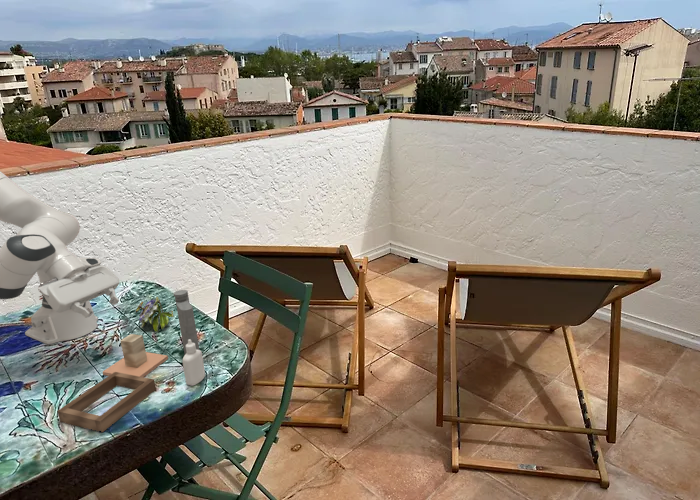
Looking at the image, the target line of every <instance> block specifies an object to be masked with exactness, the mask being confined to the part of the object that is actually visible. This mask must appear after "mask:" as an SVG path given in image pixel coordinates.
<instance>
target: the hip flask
mask: <svg viewBox="0 0 700 500" xmlns="http://www.w3.org/2000/svg"><path fill="white" fill-rule="evenodd" d="M173 296H174V298H175V299H174V300H175V305H176V310H177V311H176V312H177V317H178V323H179V329H180V336H181V341H182V346H183V351H184V352H183V353H184V355H185V354H186V353H187V352H186V344H188V340H189V339H191V341H192V343H195V346H196V350H200V347H199V340H198V333H197V332H198V331H197V327H196V326H197V325H196V321H195V314H194V308H193V305H191V303H190V299H189V292H188V290H187V289H180V290H176V291H175V292H173Z"/></svg>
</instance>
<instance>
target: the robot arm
mask: <svg viewBox="0 0 700 500" xmlns="http://www.w3.org/2000/svg"><path fill="white" fill-rule="evenodd" d="M0 222H3V223H7V224H11V225H14V226H16V227H18V228H20V230H19V231H18V232H17V233H16V235H13V236H11V237H9V238H8V239H7V240H6V241H5V242H4V243H3V244H2V245H1V247H0V300H10V299H15V298H17V297H20V296H21V295H22V294H23V292H24V290H25V289H26V287H27V285H28V283H29V282H30V281H31V280H32V278H33V277H34V276H35V274H37V276H38V280H39V285H38V288H37V289H38V292H39V293H40V294H41V295H40V296H38V298H39V301H40V300H41V301H42V302H41V306H40V307H39V308H38V309H37V311H35V313H33V314H32V315H31V318H30V319H31V322H30V323H31V327H29V328H28V329H27V330H26V331H25V332H24V334H25V335H24V336H27V337H30V338H32V339H34V340H36V341H38V342H41V343H42V344H45V345H51V344H56V343H59V342H64V341H70V340H73V339H74V340H75V339H77V338H81V337H83V336H86V335H88V334H90V333H92V332H94V330H96V329H97V328H98V320H99V318H98V316H97V315H95V313H94V310H93V307H92V304H91V300H93V299H96V298H98V297H101V296H103V295H106V296H107V297H109V299H110V300H109V301H108V302H109V303H110V304H111V305H112V306H115V305H117V304H119V302H120V299H119V298H118V297H117V295H116V291H115V290H116V289H117V288H118V286H119V285H120V279H119V278H118V276H117V275H116V274H115V273H114V272H113V271H112V270H111V269H110V268H108V267H107V266H105V265H103V264H102V261H101V259H99V258H97V257H78V256H77V255H76V254H74V253H73V252H71V251H70V250H69V249H68V247H67V246H68V245H69V244H71V243H73V242H74V241H75V240H76V238H77V237H78V235H79V233H80V230H81V226H80V222H79V220H78V219H77V218H76V217H75V215H72V214H70V213H68V212H65V211H62V210H59V209H57V208H55V207H53V206H51V205H48V204H47V203H46V202H43V201H41V200H40V199H38V198H37V197H34V196H33V195H32V194H30V193H29V192H28V191H26V190H25V189H24V188H22V187H20V185H19V184H17V183H16V182H15V181H14V180H12V179H11V178H9V177H8V176H7V175H6V174H4V173H3V172H2V171H0Z"/></svg>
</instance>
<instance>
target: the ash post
mask: <svg viewBox="0 0 700 500" xmlns="http://www.w3.org/2000/svg"><path fill="white" fill-rule="evenodd" d="M119 342H120V346H121V351H122V354H123V358H124V360H125V365H126V366H128V367H134V368H138V367H139V366H141V365H142V364H144V363H145V362H146V361H147V356H146V352H147V351H146V346H145V341H144V336H143V335H141V334H135V333H130V334H129V335H127V336H125V337H124V338H122V339H121V340H119Z"/></svg>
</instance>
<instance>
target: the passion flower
mask: <svg viewBox="0 0 700 500" xmlns="http://www.w3.org/2000/svg"><path fill="white" fill-rule="evenodd" d="M143 303H144V301H142V302H140V303H139V305H137V308H136V309H135V313H138V312H139V311H140V310H141V312H140V314H138V316H139V317H138V318H139V319H138V322H139V323H140V324H141V326H140V328H141V329H143V328H146V325H147V323H148V322H149V324H151V325H152V327H153V328H152V329H153V330H154V332H156V333H159V327H161V330H164V328H165V327H166V326H168V323H170V320H169V319H170V318H174V317H175V316H174V310H170V311H164V309H163V307H162V303H161V300H160V298H159V296H156V297H155V299H154V298H153V299H150V300H148V301H147V303H145V305H144V304H143ZM143 305H144V306H143ZM169 317H170V318H169Z"/></svg>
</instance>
